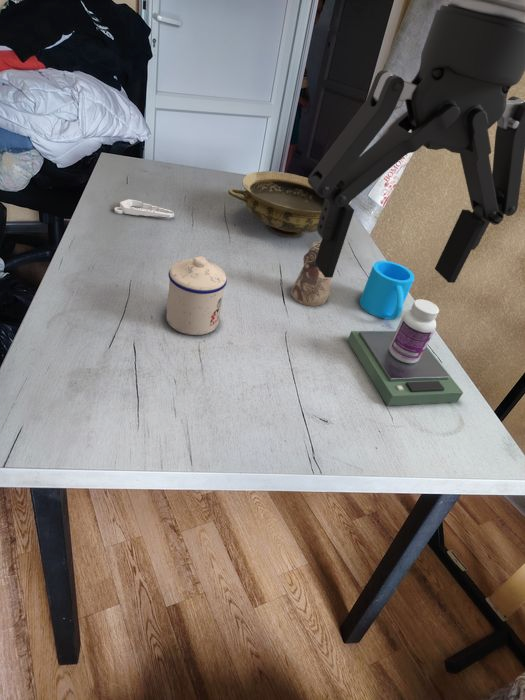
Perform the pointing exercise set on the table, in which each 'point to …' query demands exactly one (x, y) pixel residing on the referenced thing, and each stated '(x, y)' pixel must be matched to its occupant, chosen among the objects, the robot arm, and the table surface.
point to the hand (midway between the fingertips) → (386, 273)
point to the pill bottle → (414, 331)
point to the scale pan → (397, 369)
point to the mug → (386, 289)
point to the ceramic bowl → (281, 201)
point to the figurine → (311, 281)
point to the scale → (403, 390)
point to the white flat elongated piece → (154, 211)
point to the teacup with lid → (195, 296)
